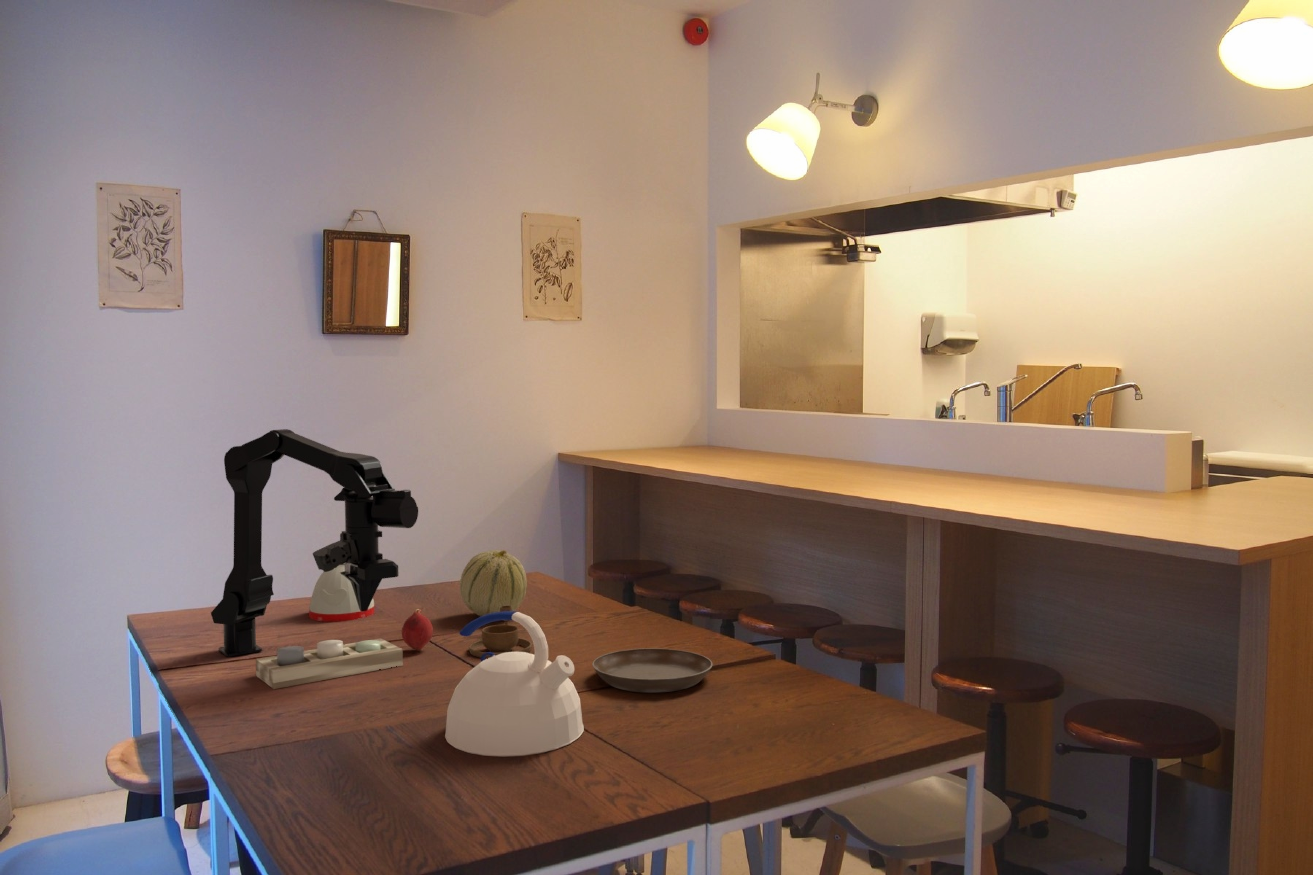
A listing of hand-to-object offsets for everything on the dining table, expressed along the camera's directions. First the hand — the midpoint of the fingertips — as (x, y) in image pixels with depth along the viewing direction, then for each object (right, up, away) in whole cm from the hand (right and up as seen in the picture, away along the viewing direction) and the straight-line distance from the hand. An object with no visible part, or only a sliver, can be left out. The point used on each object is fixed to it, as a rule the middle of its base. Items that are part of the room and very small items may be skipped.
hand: (363, 610), depth 187 cm
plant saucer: (+53, -11, -10) cm, 55 cm away
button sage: (+1, -8, +1) cm, 8 cm away
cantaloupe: (+18, -8, +38) cm, 43 cm away
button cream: (-5, -8, -3) cm, 10 cm away
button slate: (-11, -8, -8) cm, 15 cm away
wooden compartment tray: (-5, -10, -3) cm, 12 cm away
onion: (+8, -10, +10) cm, 16 cm away
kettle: (+33, -12, -36) cm, 50 cm away
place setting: (+25, -10, +13) cm, 30 cm away
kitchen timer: (-17, -8, +42) cm, 46 cm away
